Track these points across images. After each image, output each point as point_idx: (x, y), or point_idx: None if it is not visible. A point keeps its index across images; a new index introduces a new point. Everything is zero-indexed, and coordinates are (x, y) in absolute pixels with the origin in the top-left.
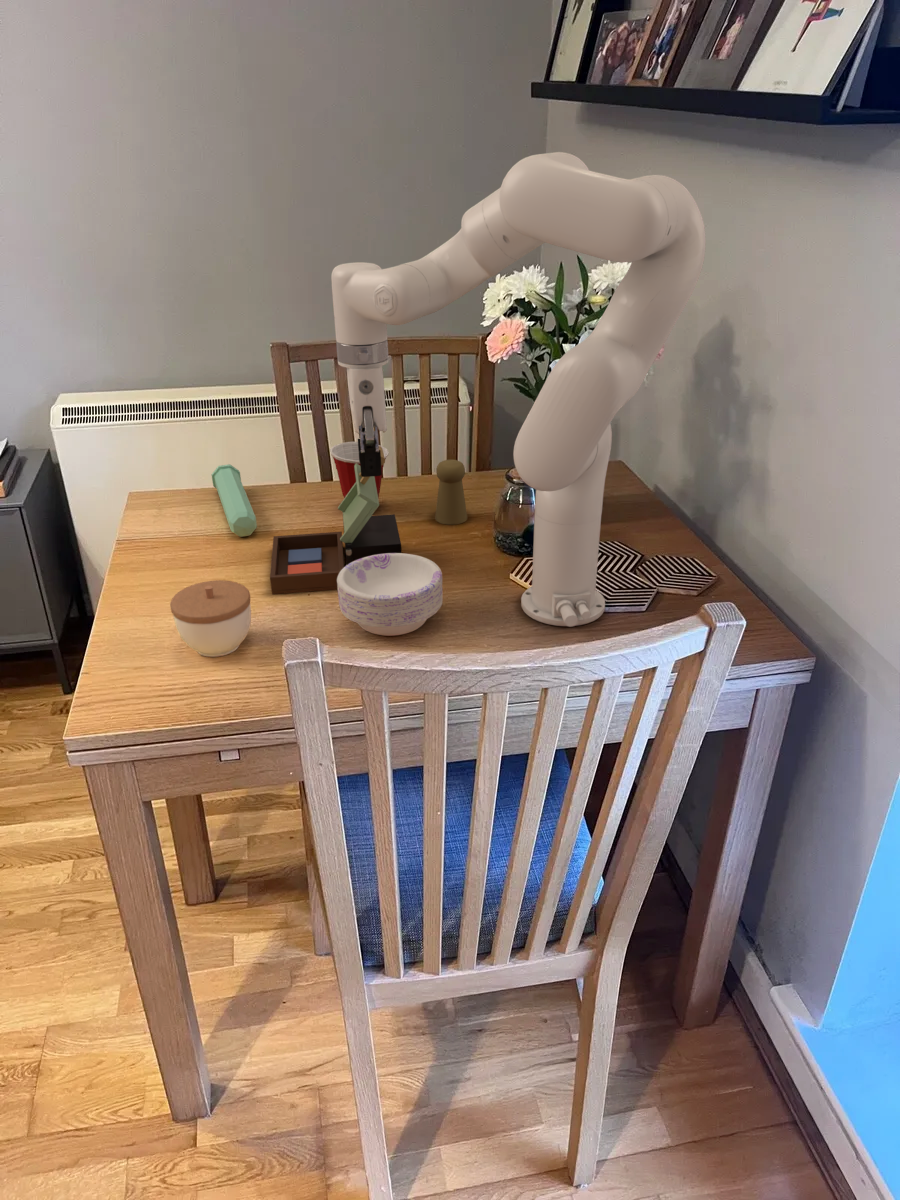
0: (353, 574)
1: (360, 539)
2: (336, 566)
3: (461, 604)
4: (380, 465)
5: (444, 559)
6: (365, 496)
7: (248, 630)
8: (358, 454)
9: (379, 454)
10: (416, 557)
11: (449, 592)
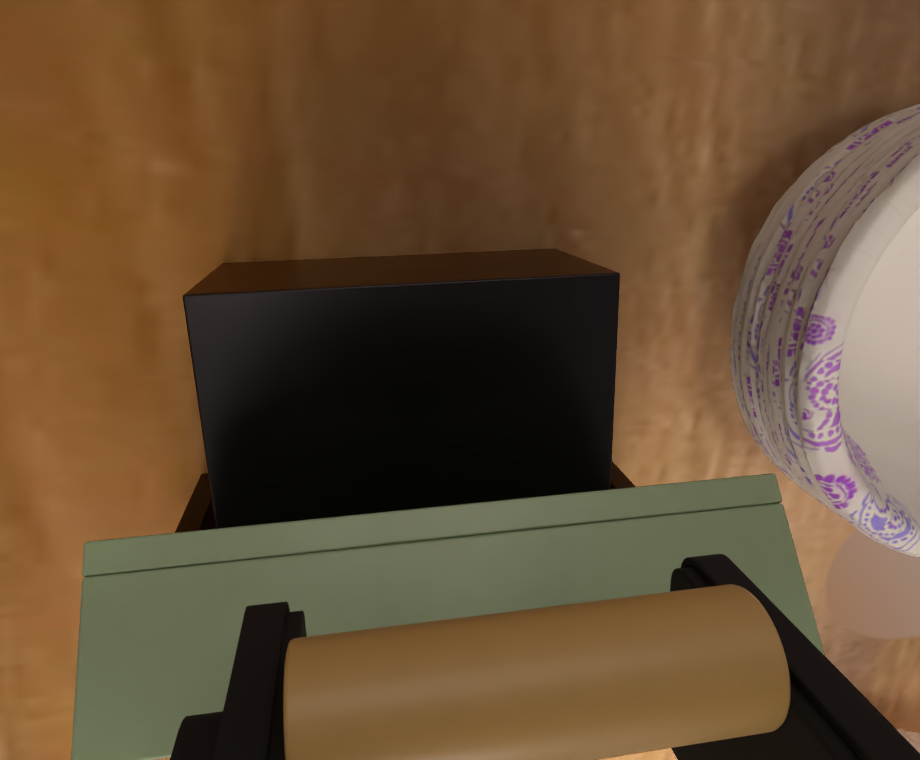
0: (894, 494)
1: (527, 481)
2: None
3: (822, 6)
4: (782, 622)
5: (380, 19)
6: (809, 604)
7: (913, 735)
8: None
9: (892, 739)
10: (915, 206)
11: (712, 45)
